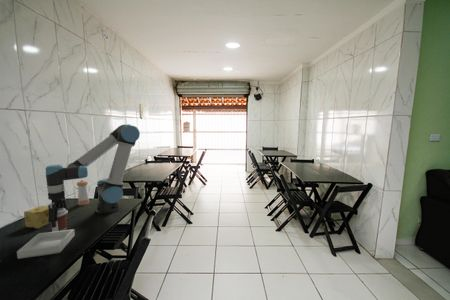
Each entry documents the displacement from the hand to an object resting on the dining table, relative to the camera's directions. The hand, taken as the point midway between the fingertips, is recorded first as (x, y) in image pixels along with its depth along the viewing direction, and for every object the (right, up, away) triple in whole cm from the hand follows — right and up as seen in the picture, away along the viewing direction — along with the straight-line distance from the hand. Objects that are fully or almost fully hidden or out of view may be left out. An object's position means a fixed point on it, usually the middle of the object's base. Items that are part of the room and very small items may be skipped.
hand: (59, 227), depth 120 cm
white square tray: (+8, -3, -16) cm, 18 cm away
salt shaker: (-13, +4, +40) cm, 42 cm away
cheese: (-17, 0, +7) cm, 19 cm away
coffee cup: (0, -1, 0) cm, 1 cm away
